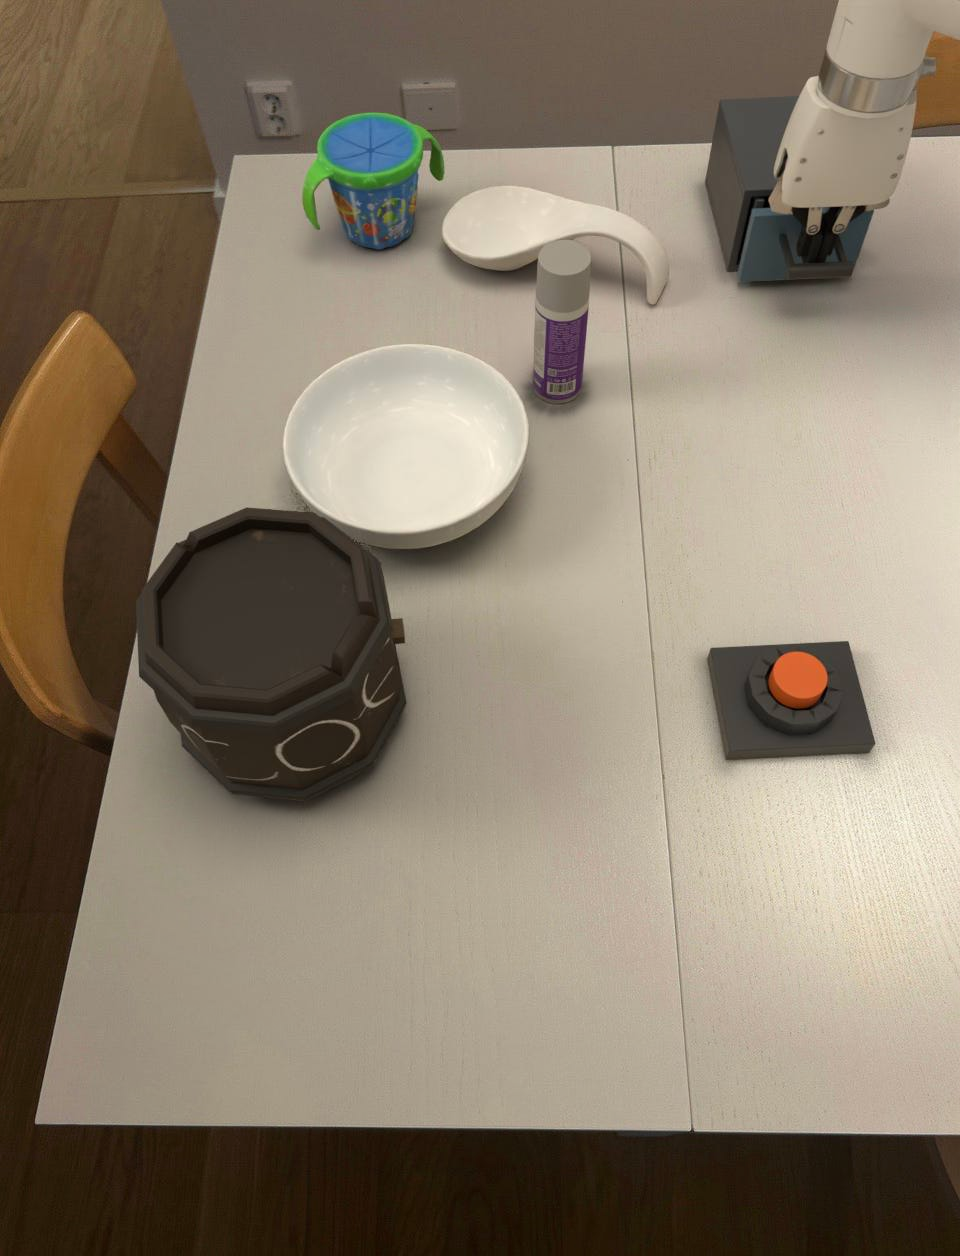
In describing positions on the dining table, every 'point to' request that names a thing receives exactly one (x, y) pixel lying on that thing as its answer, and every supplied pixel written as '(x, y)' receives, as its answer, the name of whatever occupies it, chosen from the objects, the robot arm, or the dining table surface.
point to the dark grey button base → (774, 728)
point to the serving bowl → (407, 444)
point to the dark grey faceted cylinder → (273, 652)
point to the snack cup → (372, 176)
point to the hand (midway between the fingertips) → (810, 259)
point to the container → (561, 320)
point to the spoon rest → (542, 230)
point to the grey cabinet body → (743, 163)
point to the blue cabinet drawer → (793, 246)
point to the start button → (798, 680)
